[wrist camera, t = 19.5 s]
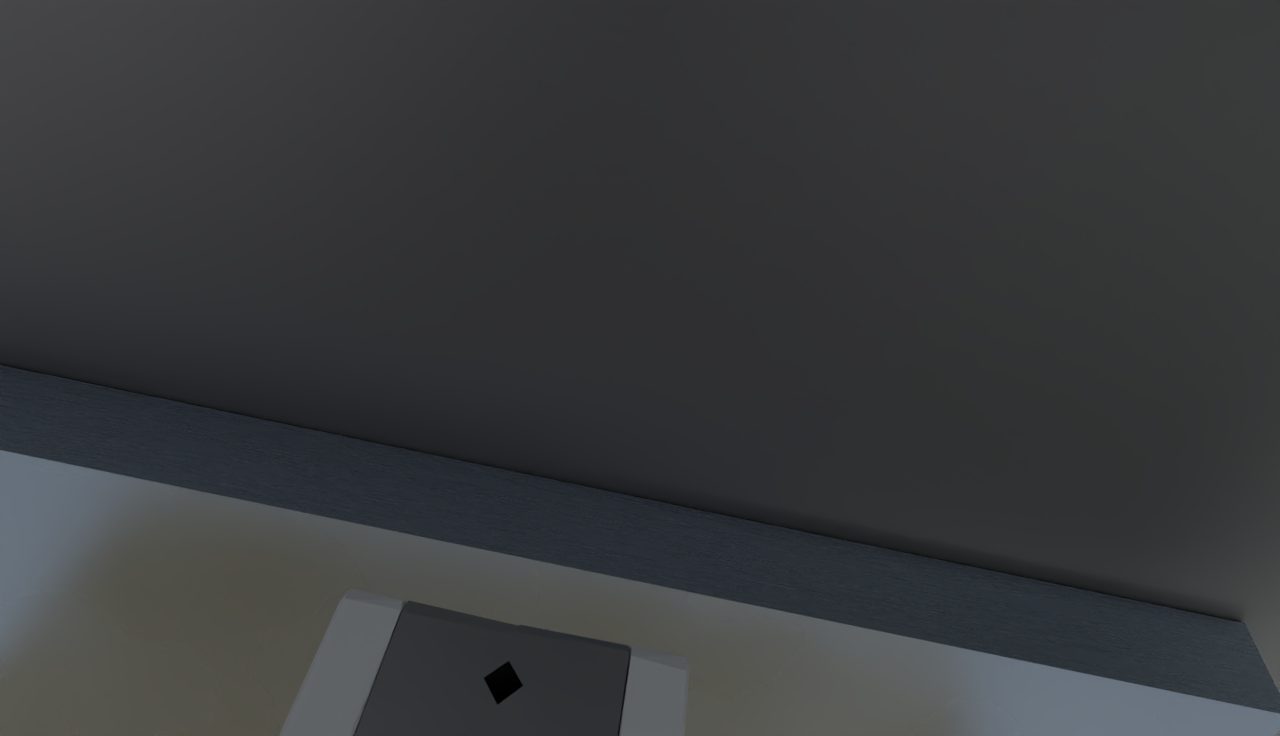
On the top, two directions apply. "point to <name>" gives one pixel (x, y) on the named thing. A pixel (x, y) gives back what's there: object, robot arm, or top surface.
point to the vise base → (524, 591)
